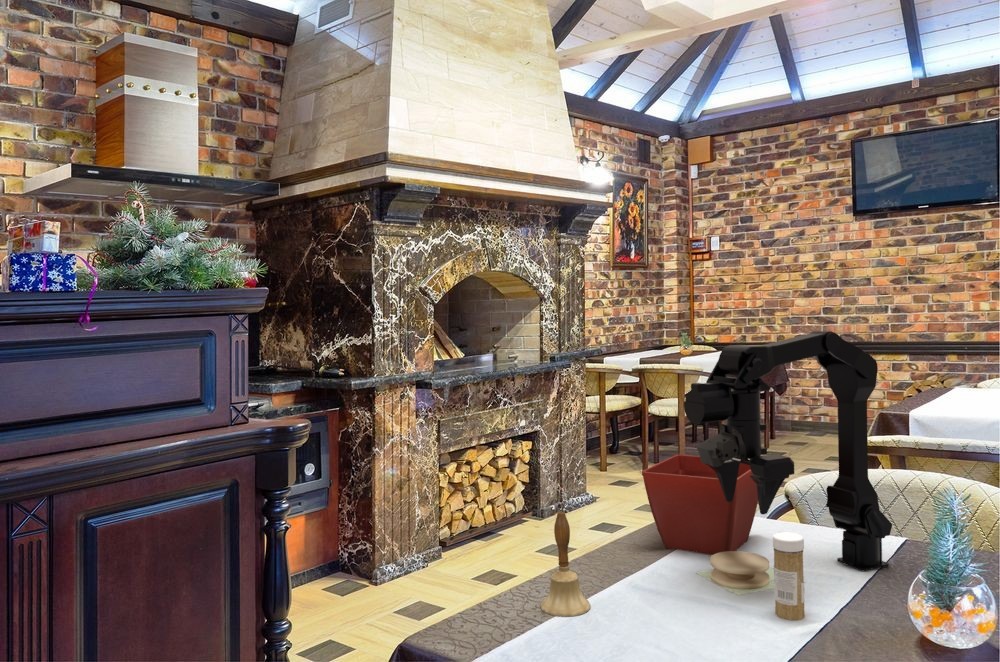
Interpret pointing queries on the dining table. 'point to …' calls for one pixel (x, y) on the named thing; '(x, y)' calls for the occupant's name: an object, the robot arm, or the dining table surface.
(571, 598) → the hand bell
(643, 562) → the dining table surface
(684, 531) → the plant pot
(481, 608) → the dining table surface
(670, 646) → the dining table surface
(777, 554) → the sprinkles bottle
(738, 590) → the notched board
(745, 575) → the bobbin
